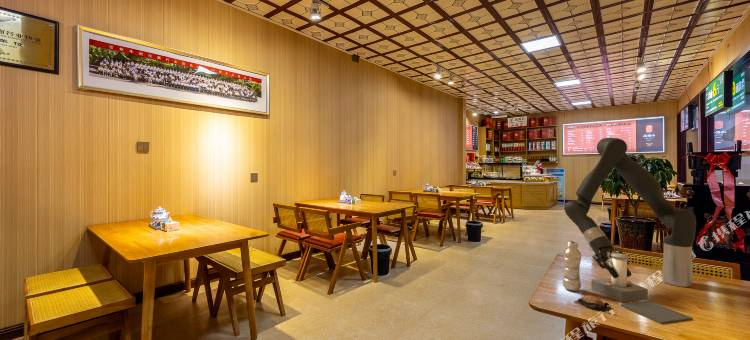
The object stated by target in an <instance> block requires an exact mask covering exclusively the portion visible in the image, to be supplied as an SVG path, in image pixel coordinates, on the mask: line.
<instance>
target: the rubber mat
mask: <svg viewBox="0 0 750 340" xmlns="http://www.w3.org/2000/svg"><path fill="white" fill-rule="evenodd" d="M619 305H620V307H622V308H623V309H624V308H625V309H626V310H628V311H631V312H633V313H635V314H637V315H640V316H641V317H644V318H646V319H649V320H651V321H653V322H655V323H658V324H660V325H663V324H670V323H678V322H684V321H691V320H693V317H691V316H690V315H686V314H684V313H682V312H680V311H679V312H678V311H676V310H674V309H671V308H668V307H666V306H664V305H661V304H659V303H656V302H653V301H651V300H647V301H646V300H643V301H637V302H629V303H627V302H626V303H620V304H619Z"/></svg>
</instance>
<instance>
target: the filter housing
mask: <svg viewBox="0 0 750 340" xmlns="http://www.w3.org/2000/svg"><path fill="white" fill-rule="evenodd" d="M590 288H591V290H592V291H594V292H597V293H599V294H602V295H604V296H606V297H608V298H611V299H613V300H615V301H617V302H619V303H627V302H633V301H634V302H635V301H646V300H648V299H649V298H648V297H649V296H648V295H649V289H648V288H647V287H643V286H642V285H641V286H640V285H638V284H635V283H633V282H632V281H631V280H627V287H625V288H619V287H616V286H614V285H612V283H611V277H608V278H607V277H606V278H599V279H591V287H590Z"/></svg>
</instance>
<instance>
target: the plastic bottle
mask: <svg viewBox="0 0 750 340" xmlns="http://www.w3.org/2000/svg"><path fill="white" fill-rule="evenodd" d="M566 247H567V248H566V249H565V250H564V251H563V253H562V257H563V262H564V263H563V264H564V272H563V278H562V287H564V289H565V290H568V291H571V292H572V291H573V292H574V291H575V292H578V291H580V290H581V288H582V282H581V274H580V268H581V261H582V254H581V253H582V252H581V251H580V250H579V249H578V248H579V245H578V242H577V241H574V240H573V241H572V240H570V241H569V240H568V241H567V243H566Z"/></svg>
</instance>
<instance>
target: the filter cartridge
mask: <svg viewBox="0 0 750 340" xmlns="http://www.w3.org/2000/svg"><path fill="white" fill-rule="evenodd" d="M611 257H612V262H611V263H612V267H614V269H615V270H616V272H617V273H618V275H619V277H617V278H613V276H612V275H611V274H610V275H611V277H610V278H611V283H612V285H614V286H616V287H619V288H625V287H627V281H628V280H627V278H628V277H627V268H628V265H627V261H628V260H629V255H627V254H625V253H623V254H620V253H611Z"/></svg>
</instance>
